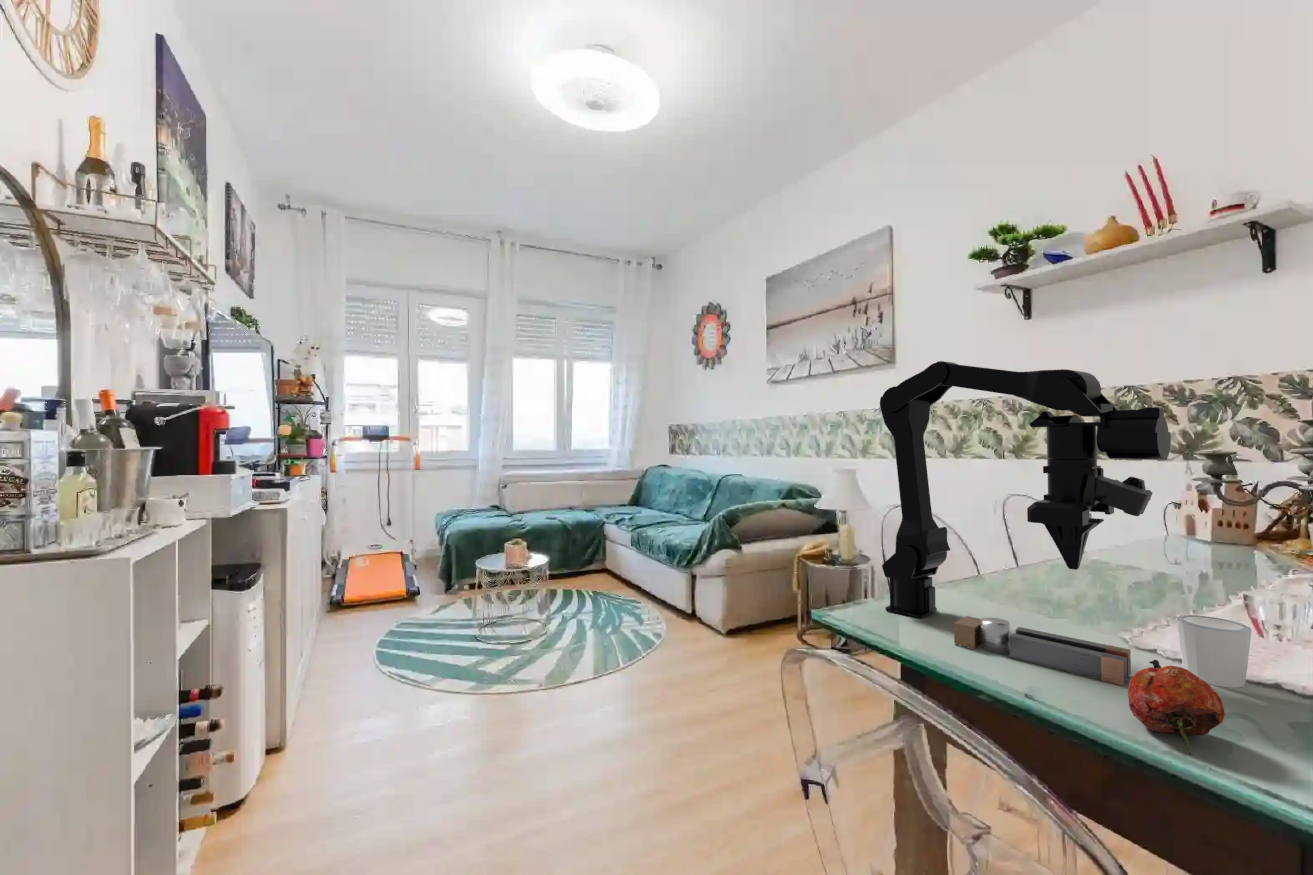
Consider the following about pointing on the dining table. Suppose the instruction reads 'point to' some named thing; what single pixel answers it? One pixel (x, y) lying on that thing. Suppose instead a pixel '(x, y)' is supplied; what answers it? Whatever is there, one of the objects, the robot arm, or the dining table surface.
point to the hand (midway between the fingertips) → (1073, 568)
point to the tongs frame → (1039, 650)
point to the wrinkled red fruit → (1174, 701)
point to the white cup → (1214, 649)
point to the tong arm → (1079, 644)
